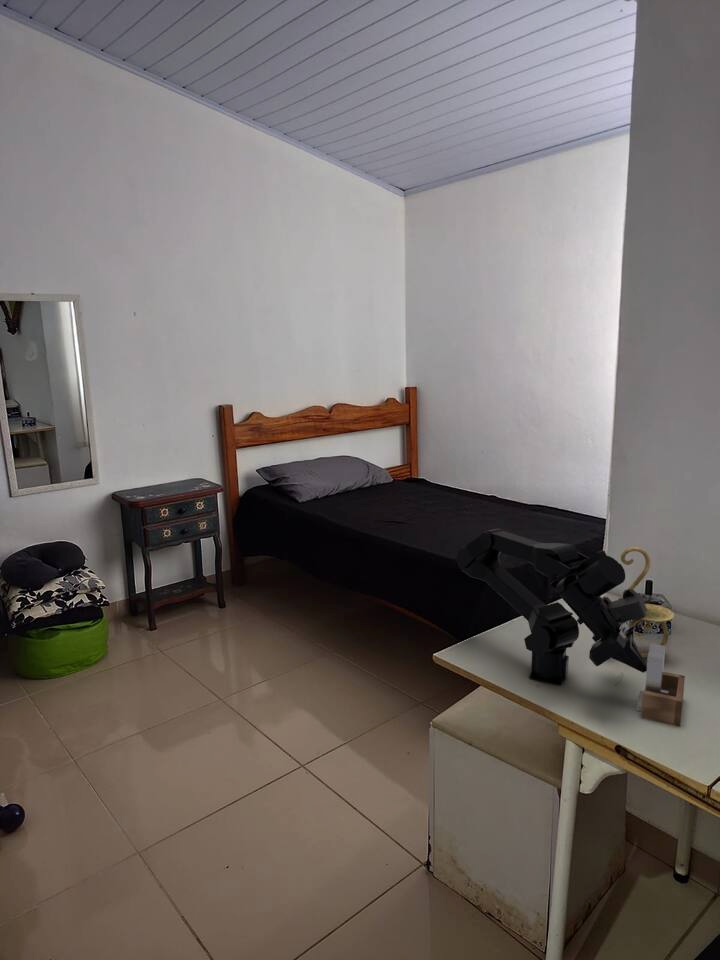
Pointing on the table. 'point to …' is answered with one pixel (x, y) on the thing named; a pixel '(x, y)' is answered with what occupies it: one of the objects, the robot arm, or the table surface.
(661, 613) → the wall sconce
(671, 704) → the walnut u-shaped bracket
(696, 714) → the table surface
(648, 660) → the angle bracket
